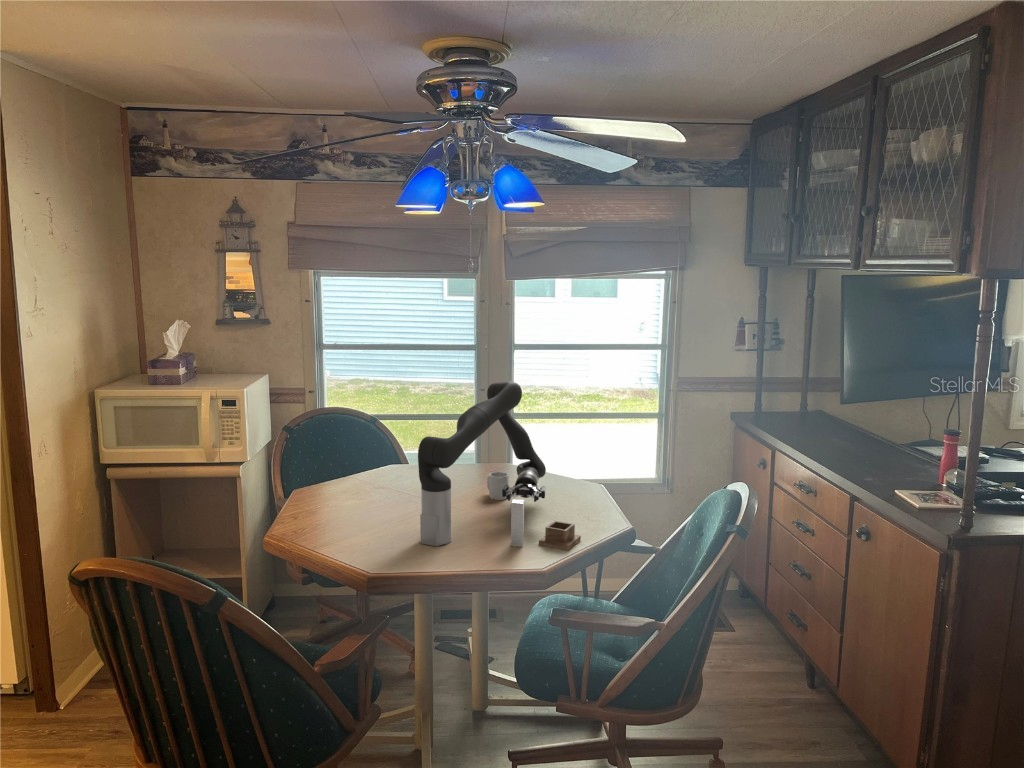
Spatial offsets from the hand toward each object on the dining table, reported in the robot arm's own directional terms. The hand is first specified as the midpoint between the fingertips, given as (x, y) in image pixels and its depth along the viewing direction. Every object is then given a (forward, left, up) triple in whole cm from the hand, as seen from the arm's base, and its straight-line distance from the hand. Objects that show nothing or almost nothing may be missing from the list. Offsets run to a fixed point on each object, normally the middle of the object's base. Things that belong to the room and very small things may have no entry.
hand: (522, 498), depth 243 cm
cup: (+30, +25, -12) cm, 41 cm away
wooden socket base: (-3, -15, -11) cm, 19 cm away
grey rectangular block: (-11, -4, -11) cm, 16 cm away
